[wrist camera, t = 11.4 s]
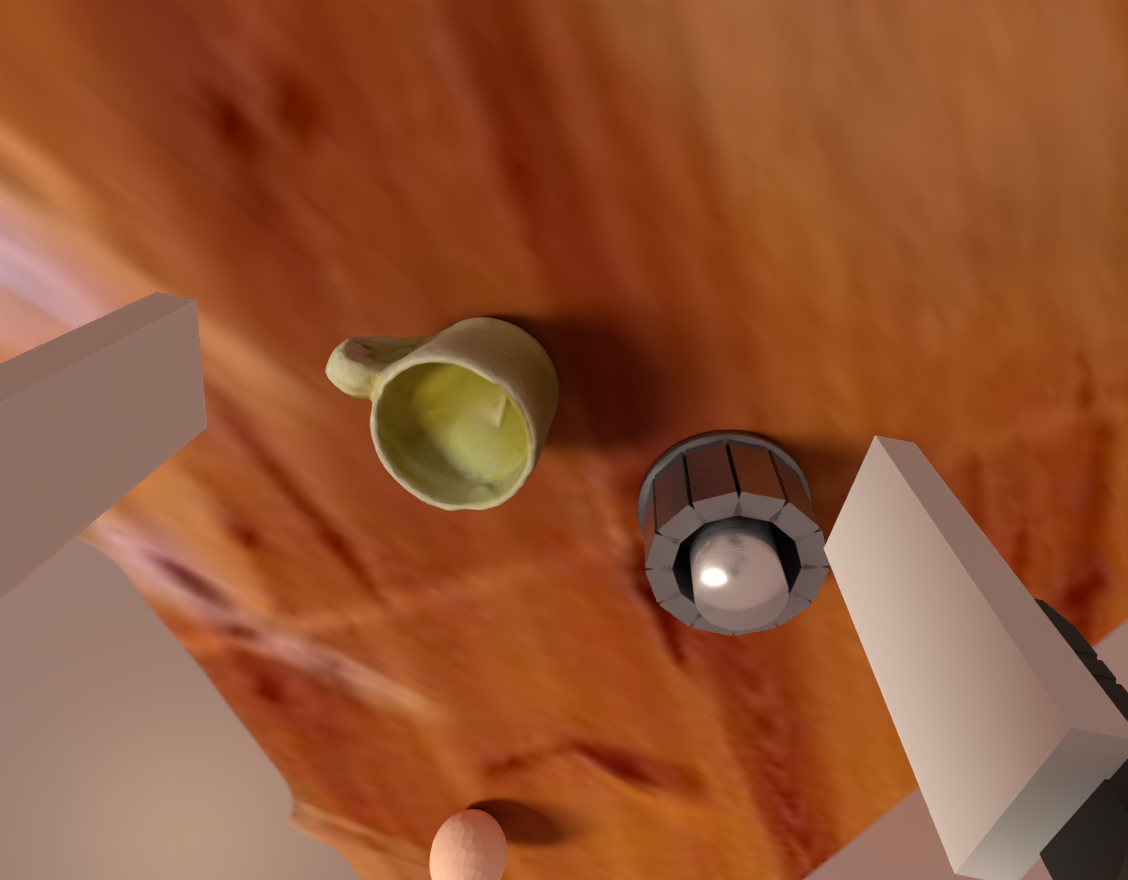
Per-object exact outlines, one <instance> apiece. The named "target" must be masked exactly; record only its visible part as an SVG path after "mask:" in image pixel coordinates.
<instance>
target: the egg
mask: <svg viewBox="0 0 1128 880" xmlns="http://www.w3.org/2000/svg"><path fill="white" fill-rule="evenodd" d="M506 858H507V843H506V839H505V835H504V833H503V831H502V829H501V827H500V825H499V823H498V822H497V821H496V820H495V819H494V818H493V817H492V816H491V815H489V814H488V813H486V812H484V811H481V810H476V809H469V810H463V811H461V812H459V813H457V814H455V815H453V816H451V817H450V818H449V819H448V820H447V821H446V822H445V823H444V824H443V825H442V826H441V828H440V829H439V830H438V832H437V834H436V837H435V839H434V841H433V845H432V850H431V854H430V872H431V877H432V880H501V878H502V876H503V872H504V869H505V864H506Z"/></svg>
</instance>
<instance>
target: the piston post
mask: <svg viewBox="0 0 1128 880" xmlns="http://www.w3.org/2000/svg"><path fill="white" fill-rule="evenodd" d="M722 439H723V440H724V443H725V446H726V443H727V440H728V439H731V440H736V441H741V442H746V443H751V444H756V445H761V446H766V447H767V450H769V449H771V450H773V451H774V452H775V453H776V454H777V455H778V456H780V457H781V458H782V459H783V460H784V461H785V462H786V463H788V464H789V465H790V466H791V467H792V468H793V469H795V470H796V471H797V473H798V475H799V476H800V479H801V481H802V484H803V486H804V489H805V491H806V493H807V496H808V498H809V501H810V503H811V494H810V489H809V486H808V482H807V480H806V477H805V475H804V473H803V471H802V469H801V467H800V465H799V464H798V463H797V461H796V460H795V459H794V457H793V456H792V455H791V454H790V453H789V452H788V451H787V450H785V449H784V448H783V447H781V446H780V445H779V444H777V443H775V442H774V441H772V440H770V439H768V438H766V437H763V436H761V435H758V434H754V433H750V432H746V431H739V430H717V431H709V432H704V433H700V434H697V435H694V436H691V437H688V438H686V439H684V440H682V441H680V442H678V443H676V444H675V445H673V446H671V447H670V448H669V449H667V450H666V451H665V452H664V453H662V454H661V455H660V456H659V457H658V458H657V459H656V460H655V461H654V462H653V464H652V465H651V467H650V468H649V469H648V471H647V473H646V475H645V476H644V478H643V481H642V484H641V486H640V490H639V495H638V518H639V524H640V527H641V531H642V533H643V535H644V506H645V503H646V499H647V496H648V492H649V489H650V485H651V482H652V479H655V478H654V475H655V474H657V473H658V472H659V471H660V470H661V469H662V468H663V467H664V466H665V465H667V464H668V463H669V462H670V461H671V460H672V459H673V458H674V457H675V456H677V455H678V454H679V453H680V452H681V451H682V452H683V453H684V454H685V455H686V453H685V449H688V448H692V447H695V446H699V445H703V444H707V443H710V442H714V441H718V440H722ZM774 525H775V524H774V523H773V522H770V521H765V520H760V519H755V518H750V517H745V516H740V515H737V516H733V517H728V518H724V519H720V520H716V521H711V522H707V523H704V524H703V525H702V526H700V527H699V528H698V529H697V530H695V531H694V532H693V533H692V534H691V535H689V536H688V537H687V538H686V539H685V540H684V541H686V542H687V543H688V549H689V558H690V566H691V574H692V583H693V591H694V600H695V604H696V607H697V609H698V611H699V612H700V614H701V615H702V616H703V617H704V618H705V619H706V620H707V621H709V622H710V623H712V624H714V625H716V626H718V627H721V628H724V629H728V630H739V631H740V630H750V629H755V628H758V627H761V626H764V625H766V624H768V623H769V622H771V621H773V620H774V619H775V618H776V617H778V616H779V615H780V613H781V612H782V611H783V610H784V608H785V606H786V604H787V601H788V596H789V590H788V585H787V582H786V579H785V575H784V572H783V569H782V566H781V562H780V559H779V556H778V552H777V549H776V546H775V543H774V539H773V536H772V533H771V532H772V530H773V528H774Z"/></svg>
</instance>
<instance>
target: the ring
mask: <svg viewBox="0 0 1128 880" xmlns="http://www.w3.org/2000/svg"><path fill="white" fill-rule="evenodd" d="M685 453H686V455H685V454H684V453H683V452H682V451H681V452H680V453H679V454H678V455H677V456H675V457H674V458H673V459H672V460H671V461H670V462H669V463H668V464H667V465H665V466H664V467H663V468H662V469H661V470H660V471H659V472H658V473H657V474H655V475H654V478H655V479H652V482H651V485H650V489H649V492H648V496H647V499H646V503H645V506H644V540H645V571H646V574H647V577H648V579H649V582H650V585H651V587H652V590H653V592H654V595H655V598H656V600H657V602H659V605H660V606H662V607H663V608H664V609H666V610H667V611H668V612H670V613H671V614H672V615H674V616H675V617H676V618H678V619H679V620H680V621H682V622H683V623H685V624H686V625H687V626H690V625H691V624H692V628H695V629H700V630H705V631H710V632H715V633H720V634H725V635H730V636H731V635H732V633H733V630H728V629H724V628H721V627H718V626H716V625H714V624H712V623H710V622H709V621H707V620H706V619H705V618H704V617H703V616H702V615H701V614H700V612H699V611H698V609H697V607H696V604H695V600H694V591H693V583H692V574H691V566H690V558H689V549H688V543H687V542H686V541H684V540H685V539H686V538H687V537H688V536H689V535H691V534H692V533H693V532H694V531H695V530H697V529H698V528H699V527H700V526H702V525H703V524H704V523H707V522H711V521H716V520H720V519H724V518H728V517H733V516H737V515H740V516H745V517H750V518H755V519H760V520H765V521H770V522H773V523H774V524H775V525H774V528H773V530H772V532H771V533H772V536H773V539H774V543H775V546H776V549H777V552H778V556H779V559H780V562H781V566H782V569H783V572H784V575H785V579H786V582H787V585H788V590H789V596H788V601H787V604H786V606H785V608H784V610H783V611H782V612H781V613H780V615H779V616H778V617H776V618H775V619H774V620H773V621H771V622H769V623H768V624H766V625H764V626H761V627H758V628H755V629H750V630H740V631H739V630H734V632H735V635H736V636H737V635H742V634H747V633H752V632H757V631H762V630H767V629H773V628H776V626H775V623H777V624H778V625H779V626H781V625H782V624H784V623H785V622H787V621H788V620H790V619H791V618H792V617H794V616H795V615H797V614H798V613H800V612H801V611H802V610H804V609H805V608H807V607H808V606H810V605H811V604H812V603H811V600H813V601H815V599H816V597H817V595H818V593H819V590H820V588H821V586H822V584H823V582H824V580H825V578H826V575H827V573H828V571H829V566H828V565H830V563H829V561H828V558H827V556H826V553H825V551H824V547H825V541H824V537H823V532H822V529H821V527H820V525H819V522H818V520H817V517H816V515H815V513H814V510H813V508H812V505H811V503H810V501H809V498H808V496H807V493H806V491H805V489H804V486H803V484H802V481H801V479H800V476H799V475H798V473H797V471H796V470H795V469H793V468H792V467H791V466H790V465H789V464H788V463H786V462H785V461H784V460H783V459H782V458H781V457H780V456H778V455H777V454H776V453H775V452H774V451H773V450H771V449H769V450H767V447H766V446H761V445H756V444H751V443H746V442H741V441H736V440H731V439H728V440H727V443H726V446H725V443H724V440H723V439H722V440H718V441H714V442H710V443H707V444H703V445H699V446H695V447H692V448H688V449H685ZM774 622H775V623H774Z"/></svg>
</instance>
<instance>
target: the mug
mask: <svg viewBox="0 0 1128 880" xmlns="http://www.w3.org/2000/svg"><path fill="white" fill-rule="evenodd" d="M326 374H327V376H328V378H329V380H331V381H332V382H333V383H334V384H335V385H336V386H337V387H338V388H339V389H340V390H341V391H343V392H344V393H346V394H348V395H350V396H352V397H354V398H360V399H370V400H371V401H372V412H371V417H370V428H371V435H372V439H373V442H374V446H375V449H376V451H377V454H378V457H379V459H380V460H381V462H382V463H383V465H384V467H385V468H386V469H387V471H388V472H389V473H390V474H391V476H392V477H393V478H394V479H395V480H396V481H397V482H398V483H400V484H401V485H402V486H403V487H404V488H405V489H406V490H407V491H409V492H410V493H411V494H413V495H414V496H416V497H417V498H419V499H420V500H422V501H423V502H425V503H427V504H430V505H434V506H437V507H439V508H442V509H445V510H453V511H455V510H460V509H476V510H485V509H487V508H491V507H495V506H499V505H500V504H502V503H503V502H505V501H506V500H508V499H509V498H511V497H513V496H514V495H515V494H516V493H517V492H518V491H519V490H520V489H521V488H522V486H523V485H524V483H525V482H526V481H527V480H528V479H529V478H530V476H531V474H532V473H533V471H534V469H535V467H536V465H537V463H538V460H539V457H540V454H541V452H542V449H543V446H544V443H545V441H546V438H547V435H548V431H549V428H550V425H551V423H552V420H553V418H554V415H555V413H556V410H557V406H558V401H559V384H558V377H557V373H556V370H555V367H554V365H553V363H552V361H551V359H550V357H549V355H548V354H547V352H546V351H545V349H544V348H543V347H542V345H541V344H540V343H539V342H538V341H537V340H536V339H535V338H534V337H532V336H531V335H530V334H528V333H527V332H525V331H524V330H523V329H521V328H519V327H517V326H515V325H513V324H511V323H508V322H505V321H502V320H498V319H494V318H489V317H474V318H470V319H466V320H462V321H460V322H458V323H456V324H454V325H453V326H451V327H449V328H447V329H445V330H443V331H441V332H439V333H438V334H436V335H432V336H421V337H416V338H401V339H396V338H393V337H388V336H385V337H384V336H375V337H368V338H366V337H350V338H348V339H346V340H345V341H344V342H342V343H341V344H340V345H339V346H338V347H337V348H336V349H334V351H333V352H332V354H331V356H330V359H329V361H328V363H327V367H326Z"/></svg>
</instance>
